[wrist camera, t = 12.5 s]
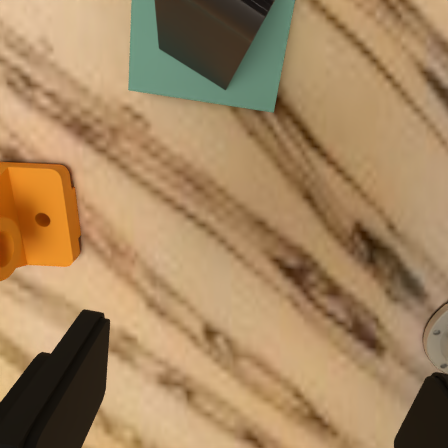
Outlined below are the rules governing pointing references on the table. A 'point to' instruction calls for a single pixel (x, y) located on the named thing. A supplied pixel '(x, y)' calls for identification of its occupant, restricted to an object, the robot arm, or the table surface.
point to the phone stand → (209, 33)
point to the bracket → (37, 216)
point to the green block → (197, 84)
